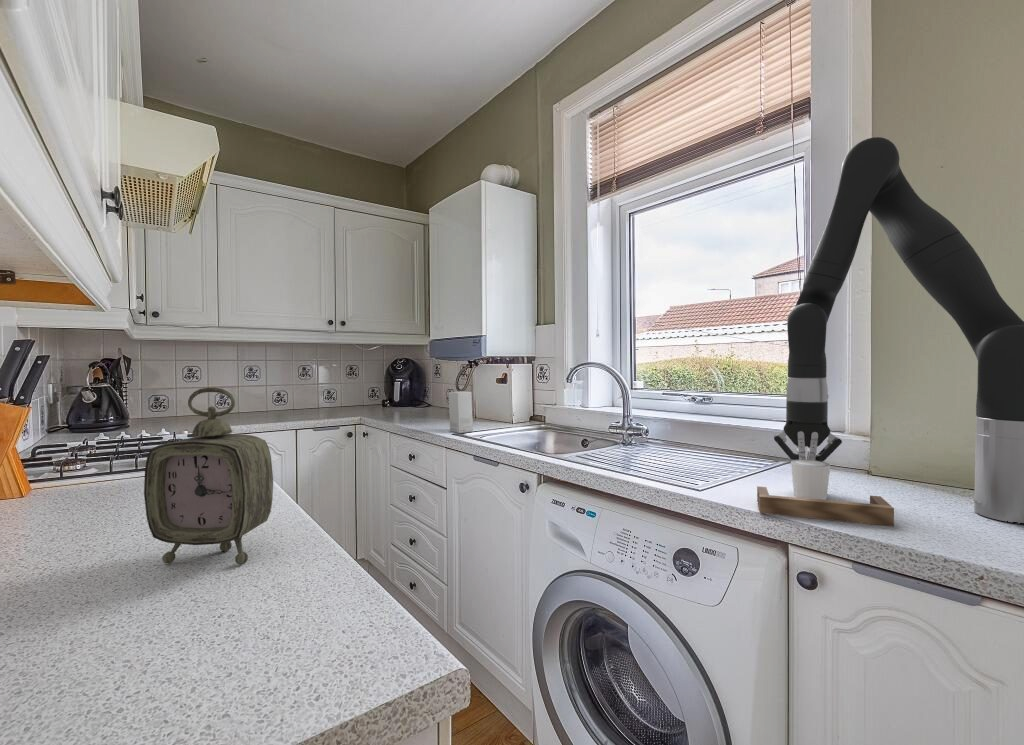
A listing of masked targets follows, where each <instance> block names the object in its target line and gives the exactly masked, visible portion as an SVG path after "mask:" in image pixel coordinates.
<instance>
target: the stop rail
mask: <svg viewBox="0 0 1024 745" xmlns="http://www.w3.org/2000/svg"><path fill="white" fill-rule="evenodd" d="M756 488H757V489H756V503H757V502H758V503H757V507H758V511H759V513H760V514H766V513H768V514H769V515H776V514H779V515H780V516H786V515H787V517H796V516H797V517H798V518H808V519H818V520H827V521H828V520H829V521H837V522H838V521H839V522H846V523H847V522H848V523H849V522H850V523H858V524H867V525H877V526H888V527H894V526H895V508H894V507H893V506H892V505H891V504H890V503H889V502H888V501H887V500H885V499H884V498H883V497H882V496H880V495H879V496H878V495H869V503H866V502H865V503H863V502H851V501H843V500H842V501H841V500H828V499H826V500H820V499H808V498H797V497H795V496H786V495H785V496H783V495H772V494H771V495H770V494H769V490H768V488H767V486H759V485H757V486H756ZM768 514H767V515H768ZM779 515H778V516H779Z"/></svg>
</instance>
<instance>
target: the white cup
mask: <svg viewBox="0 0 1024 745" xmlns="http://www.w3.org/2000/svg"><path fill="white" fill-rule="evenodd" d="M790 469H791V477H792V488H793V497H797V498H808V499H820V500H828V499H827V497H828V489H829V480H830V472H831V464H830V463H829V462H825V461H823V462H821V461H815V460H807V459H806V460H791V461H790Z"/></svg>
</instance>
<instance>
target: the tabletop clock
mask: <svg viewBox="0 0 1024 745" xmlns="http://www.w3.org/2000/svg"><path fill="white" fill-rule="evenodd" d="M203 393H218V394H219V393H220V394H222V395H225V396H226V397H227V398H228V399H229V400H230V402H231V405H230V407H229V408H226V409H224V410H221V411H217V410H216V407H215V406H209V407H208V408H207V411H203V410H202V411H201V410H199V409H196V408H195V407H194V406H193V403H192V402H193V400H194V398H195V397H197V396H199V395H200V394H203ZM235 401H236V400H235V397H234V396H233V395H232V394H231V393H230V392H229V391H228V390H225V389H224V388H219V387H203V388H199V389H197V390H196V391H193V393H192V394H191V395H190V396H189V397H188V400H187V406H188V408H189V410H190V411H192V413H193V414H195V415H197V416H200V417H206V419H203V420H200V421H199V422H197V424H196V425H195V426H194V428H193V430H192V432H191V437H189V438H184V439H180V440H176V441H171V442H167V443H164V444H159V445H157V446H155V447H152V448H150V449H149V452H148V455H147V458H146V462H145V468H144V482H143V483H144V485H143V497H144V505H145V515H146V522H147V524H148V529H149V531H150V533H151V534H152V537H153V538H154V539H157V540H158V541H160V542H164V543H168V544H174V545H173V547H172V548H171V551H166V552H165V553H164V554H163V555H162V562H163V563H164V564H166V563H169V564H171V563H173V562H174V561H175V560H176V557H177V556H176V555H177V554H176V552H177V550H178V549H179V548H180V546H181V545H186V546H187V545H189V546H205V545H207V546H208V545H219V550H220V551H221V552H223V551H226V552H229V551H228V550H231V549H232V542H233V541H234V544H235V548H236V551H237V554H236V556H235V558H234V561H235V563H236V564H238V565H244V564H245V563H247V561H248V559H249V556H248V554H247V552H244V551H243V542H242V541H243V540H242V539H243V536H244V535H246V534H247V533H249V532H251V531H253V530H254V529H256V528H259V526H261V525H262V524H264V523H267V521H268V519H269V517H270V514H271V512H272V511H271V510H272V505H273V499H274V498H273V495H274V474H273V465H272V454H271V451H270V448H269V446H268V443H267V441H266V440H265V439H263V438H260V437H258V436H257V435H256V436H255V435H250V434H242V433H241V434H238V433H233V431H232V427H231V425H230V424H229V423H228V422H227V421H226V420H225V419H222V418H217V417H222V416H226V415H228V414H230V413H231V412H232V411H233V410H234V408H235V405H236V402H235Z"/></svg>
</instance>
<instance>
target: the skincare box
mask: <svg viewBox="0 0 1024 745" xmlns="http://www.w3.org/2000/svg"><path fill="white" fill-rule="evenodd" d="M472 394H473V393H472V391H461V390H460V391H450V392H448V406H449V407H448V410H449V431H450V432H453V433H458V434H464V433H473V432H474V425H473V424H474V423H473V422H474V420H473V419H474V418H473V399H472V398H473V397H472Z"/></svg>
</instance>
